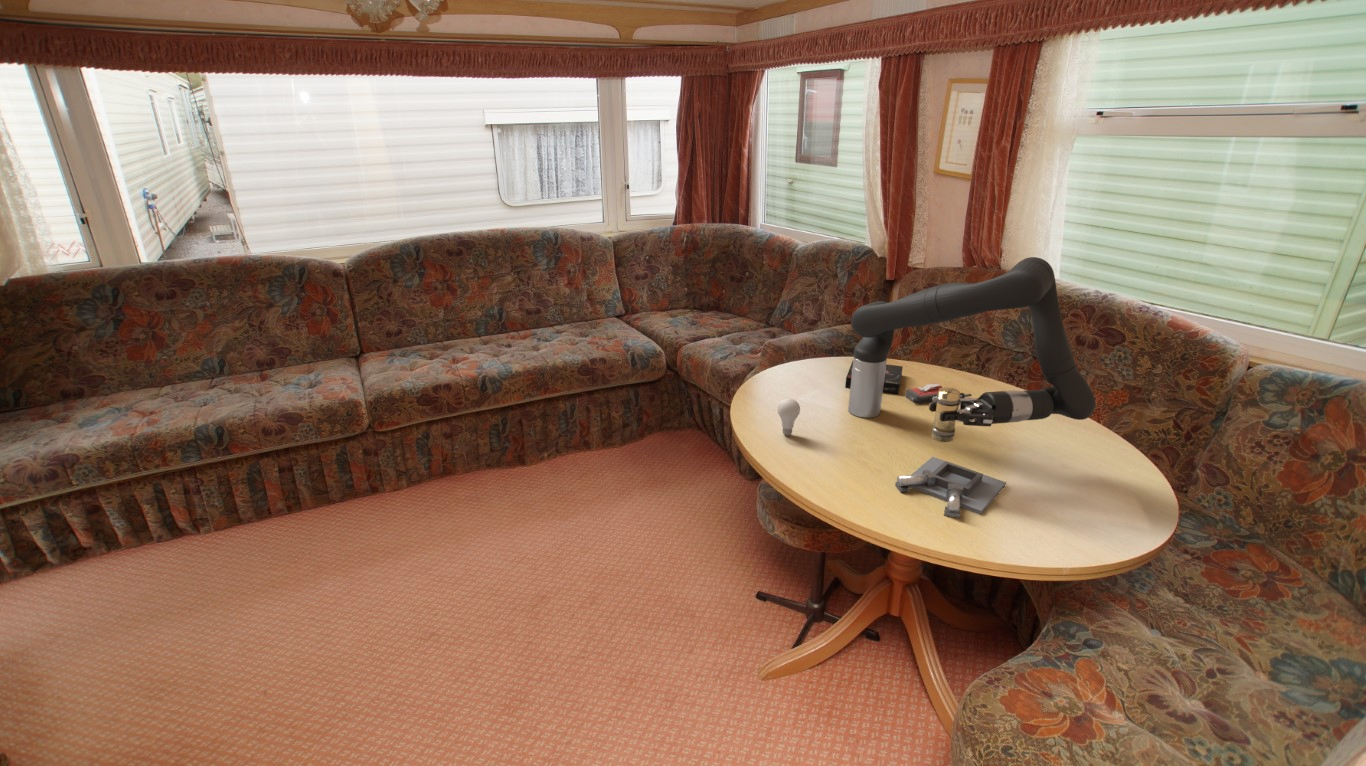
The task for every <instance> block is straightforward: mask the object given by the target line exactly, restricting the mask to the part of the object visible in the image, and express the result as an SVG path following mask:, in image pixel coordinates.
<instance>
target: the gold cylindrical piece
mask: <svg viewBox="0 0 1366 766" xmlns="http://www.w3.org/2000/svg"><path fill="white" fill-rule="evenodd" d="M960 393H961V391H960V390H959V389H957V388H954V387H942V388H940V389H939V392H938V394H937V399H936V401H937V405H936V411H935V413H934V419H933V425H932V428H931V432H932V435H931V438H932V439H933V440H935V441H937V442H940V443H951V442H952V441H953V440H954V437H955V433H956V423H957V420H955V421H941V420H940V413H941V412H942V411H957V410H958V405H959V404H960ZM959 406H960V405H959Z"/></svg>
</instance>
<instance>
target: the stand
mask: <svg viewBox="0 0 1366 766" xmlns="http://www.w3.org/2000/svg"><path fill="white" fill-rule="evenodd" d="M923 470H930V471H931V472H932V473H933V474H934V476H935V477H936V479H935V485H934V487H927V486H926V485H913V486H908V487H909V488H912V489H913V490H916V491H919V492H921V493H923V494H927V495H930V496H931V497H934V498H937V499H939V500H941V501H944V502H947V503H948V497H946V493H947V488H948V483H951V484H956V485H961V486H963V493H962V499H961V500H960V507H959V508H962V509H964V510H967V511H970V512H972V513H975V514H978V515H980V516H981V514H983V512H984V511H985V510H986V509H987V508H988V507H989V506H990V504H992V502H993V501H994V500H995V499H996V498H997V497H998V495H999V494H1000V493H1001V492H1002V491H1003V490H1004V489H1005V488H1006V486H1007V481H1004V480H1001V479H999V478H995V477H993V476H990V475H987V474H984V473H981V472H979V471H976V470H973V469H969V468H968V467H964V466H961V465H958V464H956V463H953V462H950V461H947V460H945V459H944V460H943V459H941V458H939V457H935V456H931V457H930V458H929V459H927V460H926V461H925V462H924V463H923V464H922V465H921V466H919V468H917V469H916V470H915V471H914V472H913V473H912V474H911V475H922V474H923ZM1005 485H1006V486H1005ZM1003 488H1004V489H1003ZM1002 489H1003V490H1002ZM1001 490H1002V491H1001ZM1000 491H1001V492H1000ZM999 492H1000V493H999ZM995 497H996V498H995ZM994 498H995V499H994ZM993 499H994V500H993ZM988 505H989V506H988Z"/></svg>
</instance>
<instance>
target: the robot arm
mask: <svg viewBox="0 0 1366 766" xmlns="http://www.w3.org/2000/svg"><path fill="white" fill-rule="evenodd" d="M1027 307H1028V309H1029V311H1030V316H1031V321H1032V326H1033V327H1032V328H1033V330H1032V331H1033V339H1034V340H1033V344H1034V349H1035V350H1034V351H1035V355H1036V359H1037V362H1038V365H1039V368H1040V370H1041V372H1042V375H1043V377H1044V380H1045V381H1046V382H1047V383H1048V384H1050V385H1052V386H1048V387H1044V388H1040V389H1030V390H1029V389H1028V390H1016V389H1015V390H1000V391H985V392H983V393H982V394H981V395H980V396H979V397H977V398H975V397H969V398H967V397H964V396H965V394H966V393H964V392H960V404H959V405H958V410H957V411H942V412H941V413H940V420H941V421H955V420H956V422H958V423H963V425H964V426H970V427H971V426H972V427H989V428H990V427H992V425H995V424H1009V423H1011V424H1012V423H1018V422H1019V423H1020V422H1023V421H1035V420H1044V419H1047V418H1049V417H1050V416H1051V415H1060V416H1064V417H1066V418H1069V419H1073V420H1077V421H1080V420H1082V421H1083V420H1086V419H1088V418H1090V417H1091V416H1092V415H1093V413H1095V409H1096V403H1097V402H1096V397H1095V395H1094V392H1093V391H1092V388H1091V387H1090V385H1089V384H1088V382H1087V381H1086V379H1085V378H1084V376H1083V375H1082V374H1081V373H1080V371H1079V369H1078V366H1077V363H1076V360H1075V357H1074V355H1073V352H1072V349H1071V346H1070V343H1069V340H1068V338H1067V333H1066V330H1065V326H1064V322H1063V318H1062V313H1061V309H1060V304H1059V298H1058V291H1057V282H1056V277H1055V273H1054V269H1053V267H1052V265H1051V264H1050V263H1049V262H1048V261H1046V260H1045V259H1043V258H1041V257H1036V256H1033V257H1031V256H1030V257H1025V258H1024V259H1022V260H1020V261H1019V262H1017V263H1015V265H1014V266H1013V267H1012V268H1011V269H1010V270H1009V271H1007V272H1005V273H1003V274H1002V275H999V276H996V277H994V278H990V279H987V280H984V281H980V282H974V283H965V282H949V283H948V282H947V283H944V284H939V285H935V286H931V287H927V288H926V289H922V290H919V291H916V292H913V293H911V294H909V295H906V296H903V297H901V298H899V299H896V300H893V301H890V302H887V301H883V300H877V301H874V302H870V303H867V304H864V305H861V306H860V307H858V308H857V309H856V310H855V311H854V312H853V314H852V316H851V319H850V326H851V329H852V330H853V332H854V333H856V334H857V335H858V336H860V337H861V339H860V341H858V343H857V344H856V345H855V347H854V349H853V350H854V351H853V360H852V361H853V368H852V377H851V387H850V388H849V397H848V398H849V399H848V404H847V405H848V406H847V411H848V412H849V413H850V414H851V415H854V416H856V417H859V418H860V417H861V418H864V419H865V418H867V419H869V418H876V417H878V416H879V415H880V414H881V409H882V400H883V394H884V393H883V386H884V378H885V370H886V364H887V361H888V354H889V353H890V350H891V349H892V345H893V340H894V335H895V330H898V329H903V328H913V327H921V326H927V325H928V326H929V325H933V324H939V323H945V322H949V321H954V320H957V319H961V318H966V317H970V316H975V315H978V314H982V313H985V312H986V313H987V312H992V311H994V312H995V311H1002V310H1013V309H1019V308H1020V309H1021V308H1027ZM936 405H937V402H931V403H929V406H928V407H929V408H928V410H929V411H930V412H931V413H933V412H936ZM959 407H960V408H959Z"/></svg>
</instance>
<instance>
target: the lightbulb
mask: <svg viewBox="0 0 1366 766" xmlns="http://www.w3.org/2000/svg"><path fill="white" fill-rule="evenodd" d="M776 408H777V414H778V416H779V418H780V420H781V426H782V434H783V435H784V436H787V437H788V436H789V435H792V433H793V428H794V426H795V421H796V420H797V418H798V416H799V415H800V413H801V406H800V404H799V402H798V401H797V400H796V399H794V398H791V397H786V398H784V399H782V400H780V402H778V404H777V407H776Z"/></svg>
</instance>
